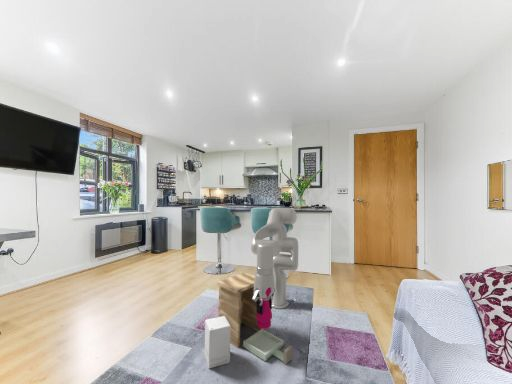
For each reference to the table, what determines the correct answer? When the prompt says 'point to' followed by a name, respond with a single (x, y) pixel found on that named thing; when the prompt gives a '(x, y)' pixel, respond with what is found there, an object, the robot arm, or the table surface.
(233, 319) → the open wooden crate
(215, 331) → the supplement box
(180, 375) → the table surface
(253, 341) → the tray
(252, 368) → the table surface
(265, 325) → the pepper mill
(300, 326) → the table surface
